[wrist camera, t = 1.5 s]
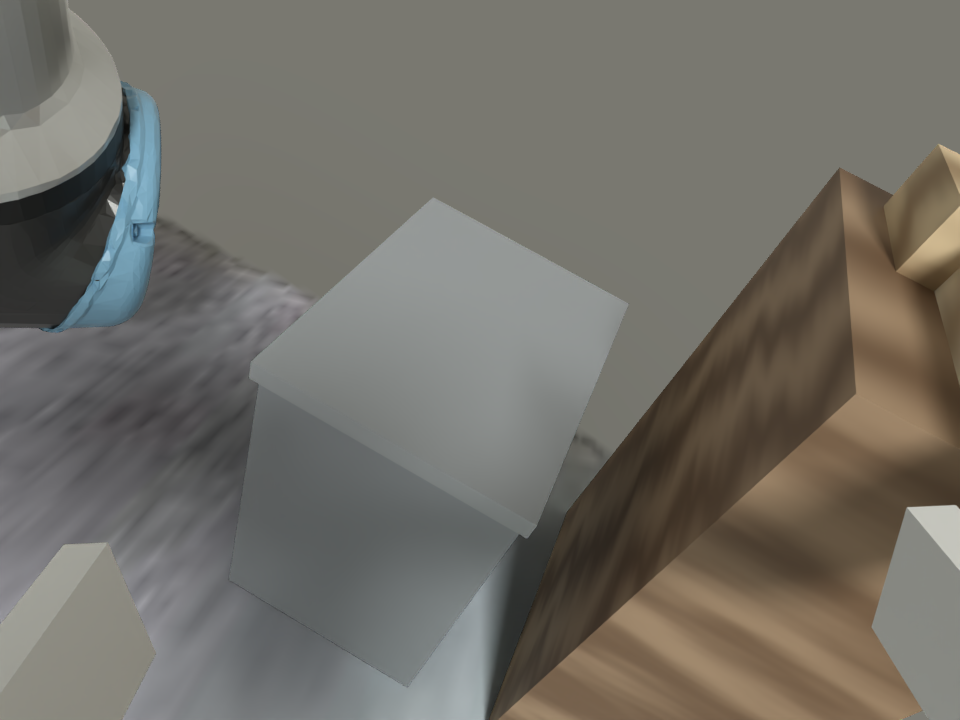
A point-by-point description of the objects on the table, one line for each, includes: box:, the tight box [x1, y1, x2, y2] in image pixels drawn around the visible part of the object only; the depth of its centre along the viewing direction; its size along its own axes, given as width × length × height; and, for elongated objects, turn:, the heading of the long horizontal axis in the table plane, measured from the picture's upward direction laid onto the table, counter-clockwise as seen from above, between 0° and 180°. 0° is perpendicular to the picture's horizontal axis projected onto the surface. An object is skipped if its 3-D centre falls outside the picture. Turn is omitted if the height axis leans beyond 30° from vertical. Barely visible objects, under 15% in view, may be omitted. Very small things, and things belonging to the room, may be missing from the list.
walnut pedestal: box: [489, 168, 960, 720], centre depth 33 cm, size 17×10×30 cm, turn 157°
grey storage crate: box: [229, 198, 629, 687], centre depth 38 cm, size 17×13×19 cm
